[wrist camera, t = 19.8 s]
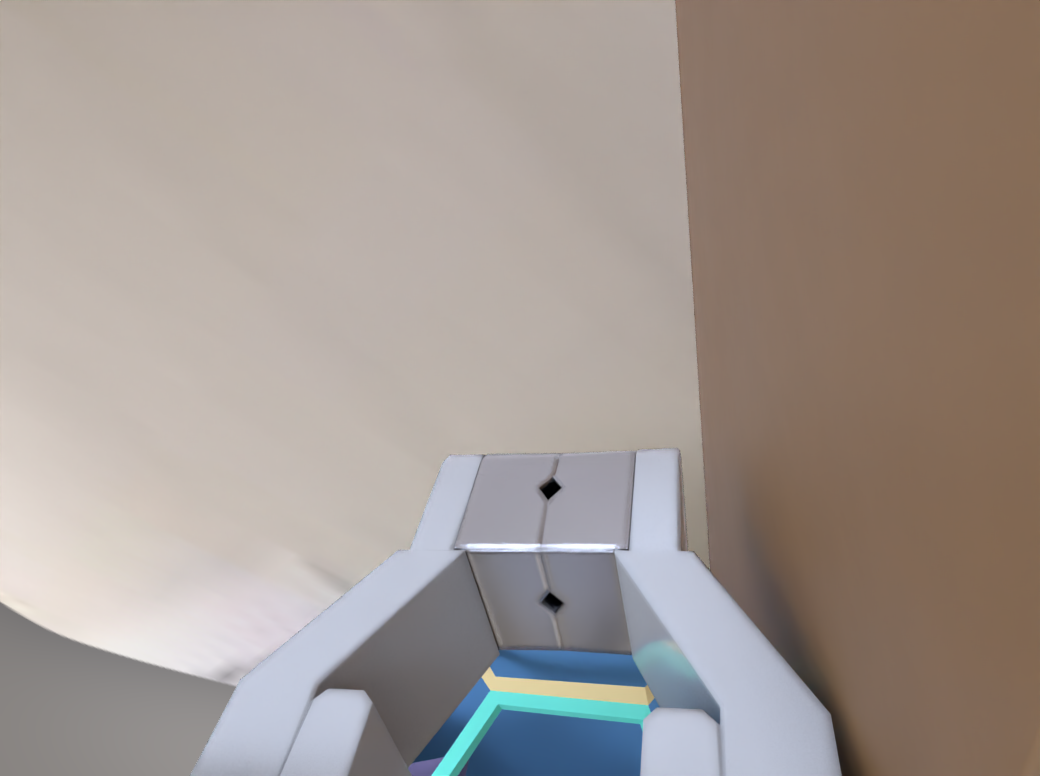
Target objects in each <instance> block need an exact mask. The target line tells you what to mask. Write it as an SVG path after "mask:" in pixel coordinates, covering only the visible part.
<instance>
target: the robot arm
mask: <svg viewBox="0 0 1040 776" xmlns="http://www.w3.org/2000/svg"><path fill="white" fill-rule="evenodd" d="M499 650H545V651H576V652H591V653H606V654H621V655H632V657H633V660H634V662H635V664H636V665H637V667H638V669H639V671H640V673H641V674H642V676H643V678H644V680H645V682H646V683H647V685H648V687H649V689H650V691H651V692H652V694H653V696H654V698H655V700H656V701H657V703H658V705H659V707H657V708H656V709H654V710H653V711H652V712H651V713H650V714H649V715H648V716H647V717H646V718H645V719H643V735H642V753H641V771H640V776H842V774H841V769H840V763H839V757H838V752H837V746H836V740H835V735H834V729H833V724H832V718H831V714H830V713H829V711H828V710H827V709H826V708H825V707H824V705H823V704H822V703H821V702H820V701H819V699H818V698H817V697H816V696H815V695H814V694H813V692H812V691H811V690H810V689H809V688H808V686H807V685H806V684H805V683H804V682H803V680H802V679H801V678H800V677H799V676H798V675H797V673H796V672H795V671H794V670H793V669H792V667H791V666H790V665H789V664H788V663H787V661H786V660H785V659H784V658H783V657H782V655H781V654H780V653H779V652H778V651H777V650H776V648H775V647H774V646H773V645H772V644H771V642H770V641H769V640H768V639H767V638H766V636H765V635H764V634H763V633H762V632H761V631H760V629H759V628H758V627H757V626H756V625H755V623H754V622H753V621H752V620H751V619H750V617H749V616H748V615H747V614H746V613H745V611H744V610H743V609H742V608H741V607H740V606H739V604H738V603H737V602H736V601H735V600H734V598H733V597H732V596H731V595H730V594H729V592H728V591H727V590H726V589H725V588H724V587H723V585H722V584H721V583H720V582H719V581H718V579H717V578H716V577H715V576H714V575H713V573H712V572H711V571H710V570H709V569H708V568H707V566H706V565H705V564H704V563H703V562H702V560H701V559H700V558H699V557H698V556H697V554H696V553H695V552H694V551H688V540H687V525H686V511H685V498H684V485H683V473H682V460H681V453H680V450H679V449H678V448H663V449H643V450H638V451H611V452H584V453H534V454H487V455H450V456H449V457H447V458H446V459H445V460H444V462H443V463H442V465H441V468H440V470H439V473H438V476H437V478H436V481H435V484H434V486H433V489H432V491H431V494H430V497H429V499H428V502H427V505H426V507H425V510H424V512H423V515H422V518H421V520H420V523H419V526H418V528H417V531H416V533H415V536H414V539H413V541H412V544H411V547H410V549H409V550H398V551H396V552H395V553H394V554H393V555H391V556H390V557H389V558H388V559H387V560H385V561H384V562H383V563H382V564H380V565H379V566H378V567H377V568H376V569H374V570H373V571H372V572H371V573H370V574H368V575H367V576H366V577H365V578H363V579H362V580H361V581H360V582H359V583H357V584H356V585H355V586H354V587H352V588H351V589H350V590H349V591H348V592H346V593H345V594H344V595H343V596H341V597H340V598H339V599H338V600H337V601H335V602H334V603H333V604H332V605H331V606H329V607H328V608H327V609H326V610H324V611H323V612H322V613H321V614H320V615H318V616H317V617H316V618H315V619H313V620H312V621H311V622H310V623H309V624H307V625H306V626H305V627H304V628H302V629H301V630H300V631H299V632H298V633H296V634H295V635H294V636H293V637H291V638H290V639H289V640H288V641H287V642H285V643H284V644H283V645H282V646H281V647H279V648H278V649H277V650H276V651H274V652H273V653H272V654H271V655H270V656H268V657H267V658H266V659H265V660H263V661H262V662H261V663H260V664H259V665H257V666H256V667H255V668H254V669H252V670H251V671H250V672H249V673H248V674H246V675H245V676H244V677H243V678H242V679H240V681H239V683H238V685H237V687H236V689H235V691H234V692H233V695H232V696H231V698H230V700H229V702H228V704H227V706H226V708H225V710H224V711H223V714H222V715H221V717H220V719H219V721H218V723H217V725H216V727H215V729H214V731H213V732H212V735H211V736H210V738H209V740H208V742H207V744H206V746H205V748H204V750H203V752H202V754H201V755H200V758H199V759H198V761H197V763H196V765H195V767H194V769H193V771H192V772H191V774H190V776H412V775H411V773H410V771H409V769H408V768H409V766H410V765H411V764H412V763H413V761H414V760H415V759H416V758H417V757H418V755H419V754H420V753H421V752H422V750H423V749H424V748H425V747H426V745H427V744H428V743H429V742H430V740H431V739H432V738H433V737H434V735H435V734H436V733H437V732H438V730H439V729H440V728H441V727H442V725H443V724H444V723H445V722H446V720H447V719H448V718H449V717H450V715H451V714H452V713H453V712H454V711H455V709H456V708H457V707H458V706H459V704H460V703H461V702H462V701H463V699H464V698H465V697H466V696H467V694H468V693H469V692H470V691H471V689H472V688H473V687H474V686H475V684H476V683H477V682H478V681H479V679H480V678H481V677H482V676H483V674H484V673H485V672H486V671H487V669H488V668H489V667H490V666H491V664H492V663H493V662H494V661H495V660H496V658H497V657H498V656H499V655H500V653H499Z"/></svg>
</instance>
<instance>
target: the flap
mask: <svg viewBox="0 0 1040 776" xmlns="http://www.w3.org/2000/svg"><path fill="white" fill-rule="evenodd" d="M675 5H676V21H677V37H678V54H679V70H680V86H681V103H682V119H683V135H684V152H685V168H686V184H687V201H688V217H689V233H690V250H691V266H692V282H693V299H694V315H695V331H696V348H697V364H698V380H699V397H700V413H701V429H702V446H703V462H704V478H705V495H706V511H707V527H708V544H709V560H710V571H711V572H712V573H713V575H714V576H715V577H716V578H717V579H718V581H719V582H720V583H721V584H722V585H723V587H724V588H725V589H726V590H727V591H728V592H729V594H730V595H731V596H732V597H733V598H734V600H735V601H736V602H737V603H738V604H739V606H740V607H741V608H742V609H743V610H744V611H745V613H746V614H747V615H748V616H749V617H750V619H751V620H752V621H753V622H754V623H755V625H756V626H757V627H758V628H759V629H760V631H761V632H762V633H763V634H764V635H765V636H766V638H767V639H768V640H769V641H770V642H771V644H772V645H773V646H774V647H775V648H776V650H777V651H778V652H779V653H780V654H781V655H782V657H783V658H784V659H785V660H786V661H787V663H788V664H789V665H790V666H791V667H792V669H793V670H794V671H795V672H796V673H797V675H798V676H799V677H800V678H801V679H802V680H803V682H804V683H805V684H806V685H807V686H808V688H809V689H810V690H811V691H812V692H813V694H814V695H815V696H816V697H817V698H818V699H819V701H820V702H821V703H822V704H823V705H824V707H825V708H826V709H827V710H828V711H829V713H830V714H831V718H832V724H833V729H834V735H835V740H836V746H837V752H838V757H839V763H840V769H841V774H842V776H1040V0H675Z"/></svg>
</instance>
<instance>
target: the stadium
mask: <svg viewBox="0 0 1040 776" xmlns="http://www.w3.org/2000/svg"><path fill="white" fill-rule="evenodd" d="M499 653H500V655H499V656H498V657H497V658H496V660H495V661H494V662H493V663H492V664H491V666H490V667H489V668H488V669H487V671H486V672H485V673H484V674H483V676H482V677H481V678H480V679H479V681H478V682H477V683H476V684H475V686H474V687H473V688H472V689H471V691H470V692H469V693H468V694H467V696H466V697H465V698H464V699H463V701H462V702H461V703H460V704H459V706H458V707H457V708H456V709H455V711H454V712H453V713H452V714H451V715H450V717H449V718H448V719H447V720H446V722H445V723H444V724H443V725H442V727H441V728H440V729H439V730H438V732H437V733H436V734H435V735H434V737H433V738H432V739H431V740H430V742H429V743H428V744H427V745H426V747H425V748H424V749H423V750H422V752H421V753H420V754H419V755H418V757H417V758H416V759H415V760H414V761H413V763H412V764H411V765H410V766H409V768H408V769H409V771H410V773H411V775H412V776H640V771H641V753H642V735H643V719H645V718H646V717H647V716H648V715H649V714H650V713H651V712H652V711H653V710H654V709H656V708H657V707H659V705H658V703H657V701H656V700H655V698H654V696H653V694H652V692H651V691H650V689H649V687H648V685H647V683H646V682H645V680H644V678H643V676H642V674H641V673H640V671H639V669H638V667H637V665H636V664H635V662H634V660H633V657H632V655H621V654H606V653H591V652H576V651H545V650H499Z"/></svg>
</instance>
